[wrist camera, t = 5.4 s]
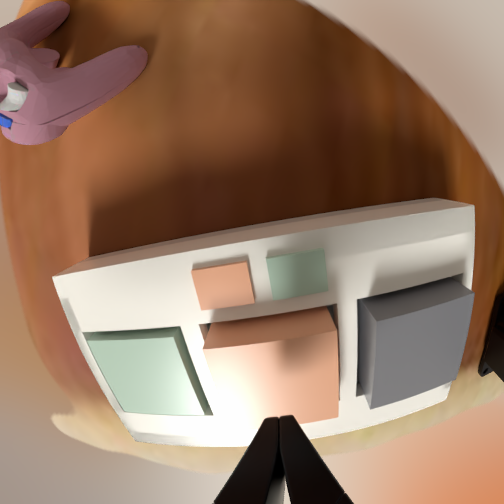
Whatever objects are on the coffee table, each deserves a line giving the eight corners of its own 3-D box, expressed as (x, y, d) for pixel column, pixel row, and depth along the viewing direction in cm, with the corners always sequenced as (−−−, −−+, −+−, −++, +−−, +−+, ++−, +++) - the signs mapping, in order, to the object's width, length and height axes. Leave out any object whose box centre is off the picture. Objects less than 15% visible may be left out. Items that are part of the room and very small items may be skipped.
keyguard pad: (434, 197, 11) (477, 205, 8) (424, 368, 13) (447, 401, 10) (88, 257, 12) (49, 278, 9) (150, 407, 15) (134, 443, 12)
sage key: (187, 311, 11) (173, 337, 9) (212, 385, 12) (204, 415, 10) (108, 318, 12) (86, 340, 10) (138, 386, 13) (124, 411, 11)
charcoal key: (445, 274, 9) (474, 292, 7) (435, 354, 10) (455, 379, 8) (357, 295, 10) (376, 321, 8) (357, 377, 11) (370, 409, 9)
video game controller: (46, 57, 11) (-43, 84, 5) (69, -2, 8) (-30, 11, 2) (124, 129, 12) (6, 184, 7) (164, 53, 9) (17, 71, 4)
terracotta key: (324, 301, 10) (337, 330, 8) (329, 383, 11) (338, 417, 9) (213, 318, 10) (201, 349, 8) (236, 396, 11) (231, 430, 9)
